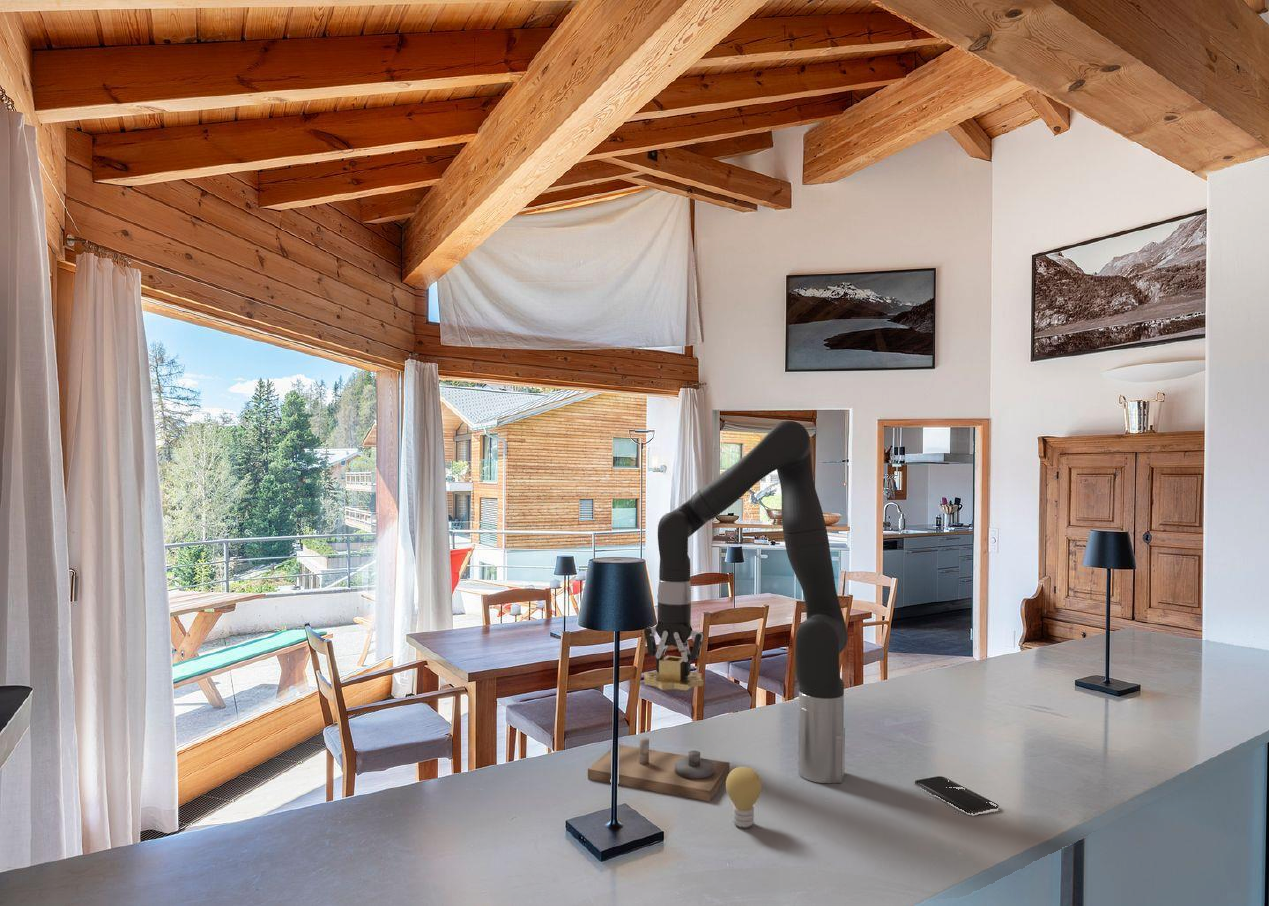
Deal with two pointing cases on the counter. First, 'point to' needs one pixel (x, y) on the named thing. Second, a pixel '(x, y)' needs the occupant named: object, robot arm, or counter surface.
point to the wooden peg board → (663, 771)
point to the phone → (955, 794)
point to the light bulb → (743, 794)
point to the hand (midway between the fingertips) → (673, 675)
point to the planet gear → (672, 675)
